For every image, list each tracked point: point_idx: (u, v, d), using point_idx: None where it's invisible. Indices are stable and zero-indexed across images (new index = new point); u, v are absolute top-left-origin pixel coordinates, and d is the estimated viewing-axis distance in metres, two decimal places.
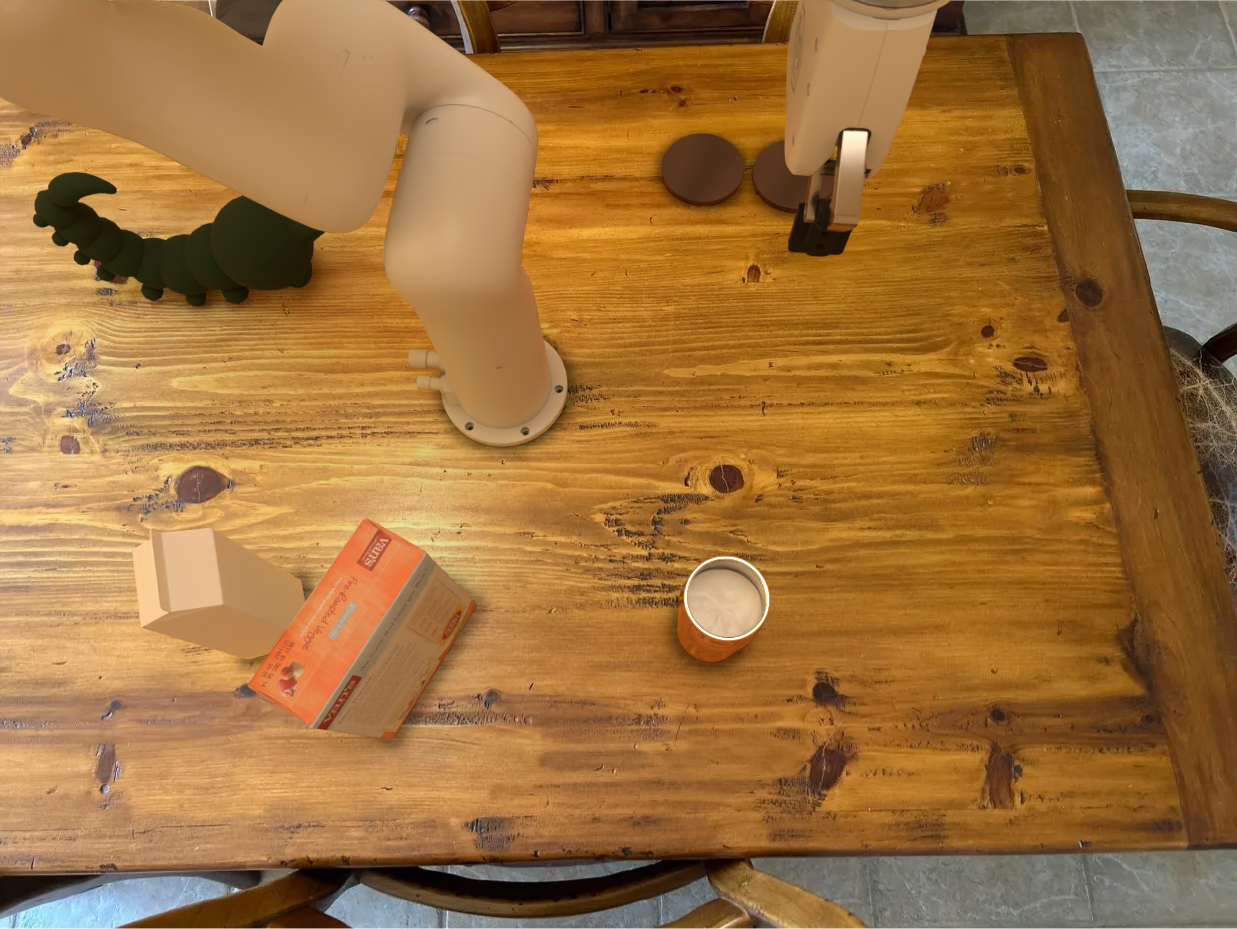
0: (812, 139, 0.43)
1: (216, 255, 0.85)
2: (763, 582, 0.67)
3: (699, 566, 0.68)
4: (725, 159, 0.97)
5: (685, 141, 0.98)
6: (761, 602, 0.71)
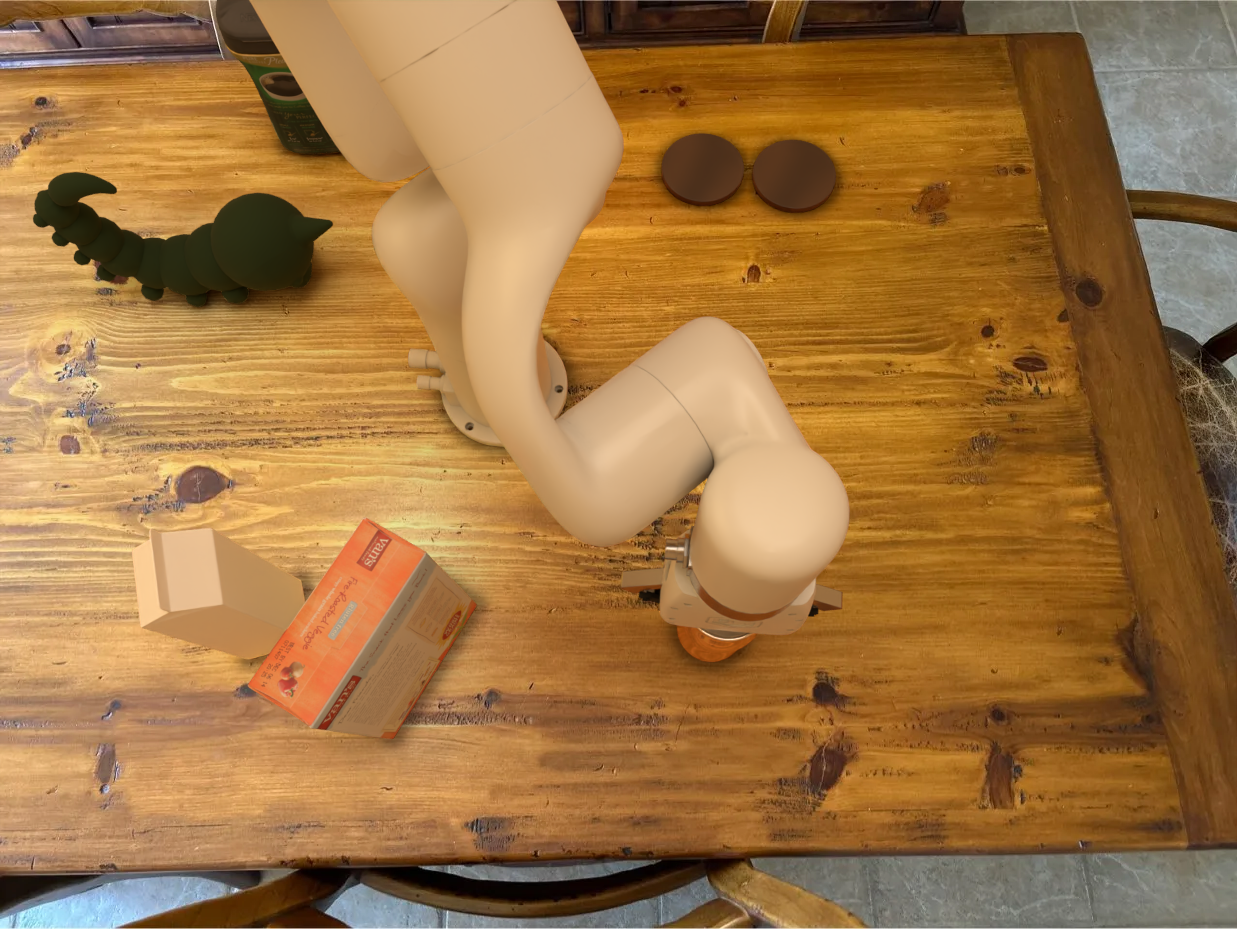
0: None
1: (216, 255, 0.85)
2: None
3: None
4: (725, 159, 0.97)
5: (685, 141, 0.98)
6: None
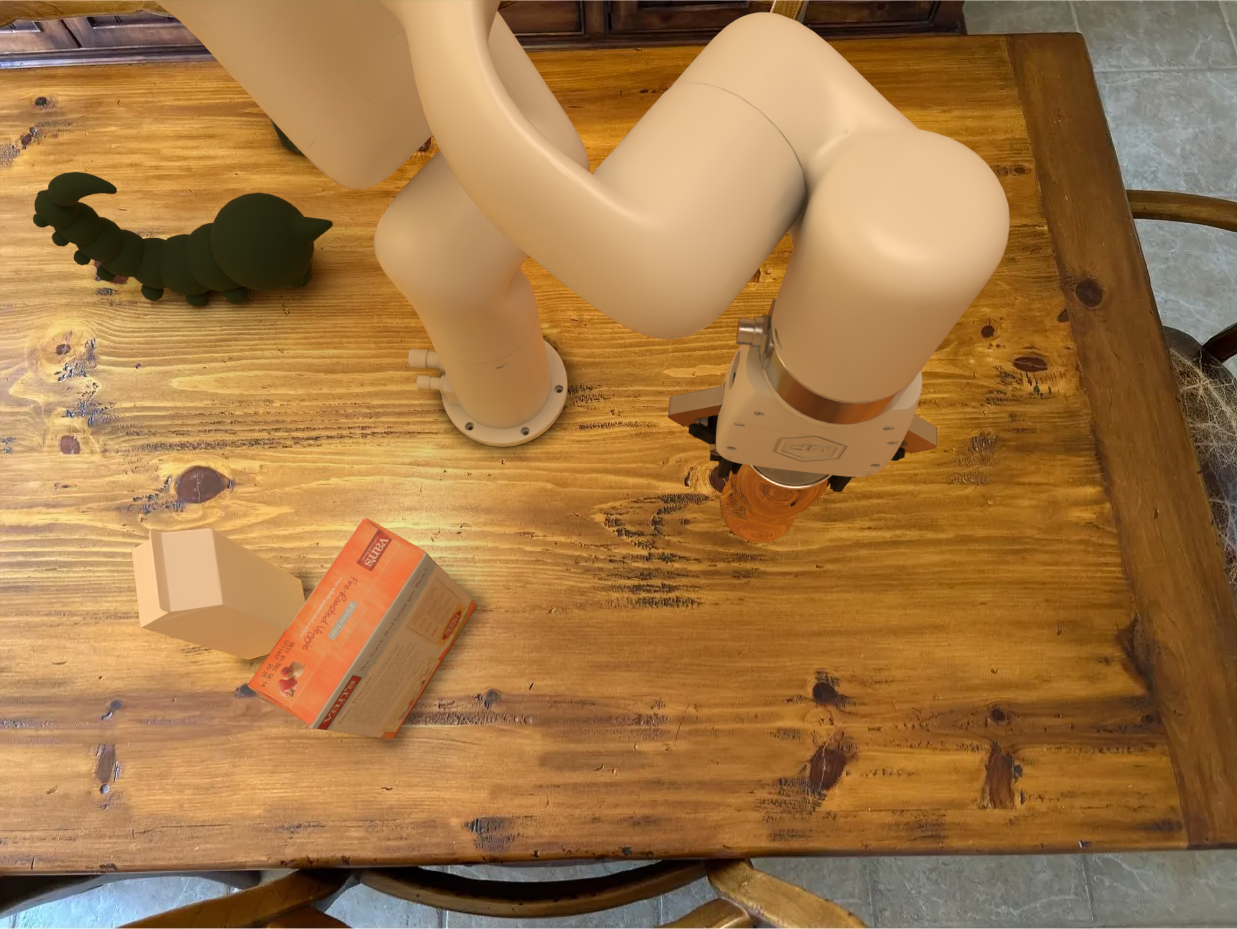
0: None
1: (216, 255, 0.85)
2: None
3: None
4: None
5: None
6: None
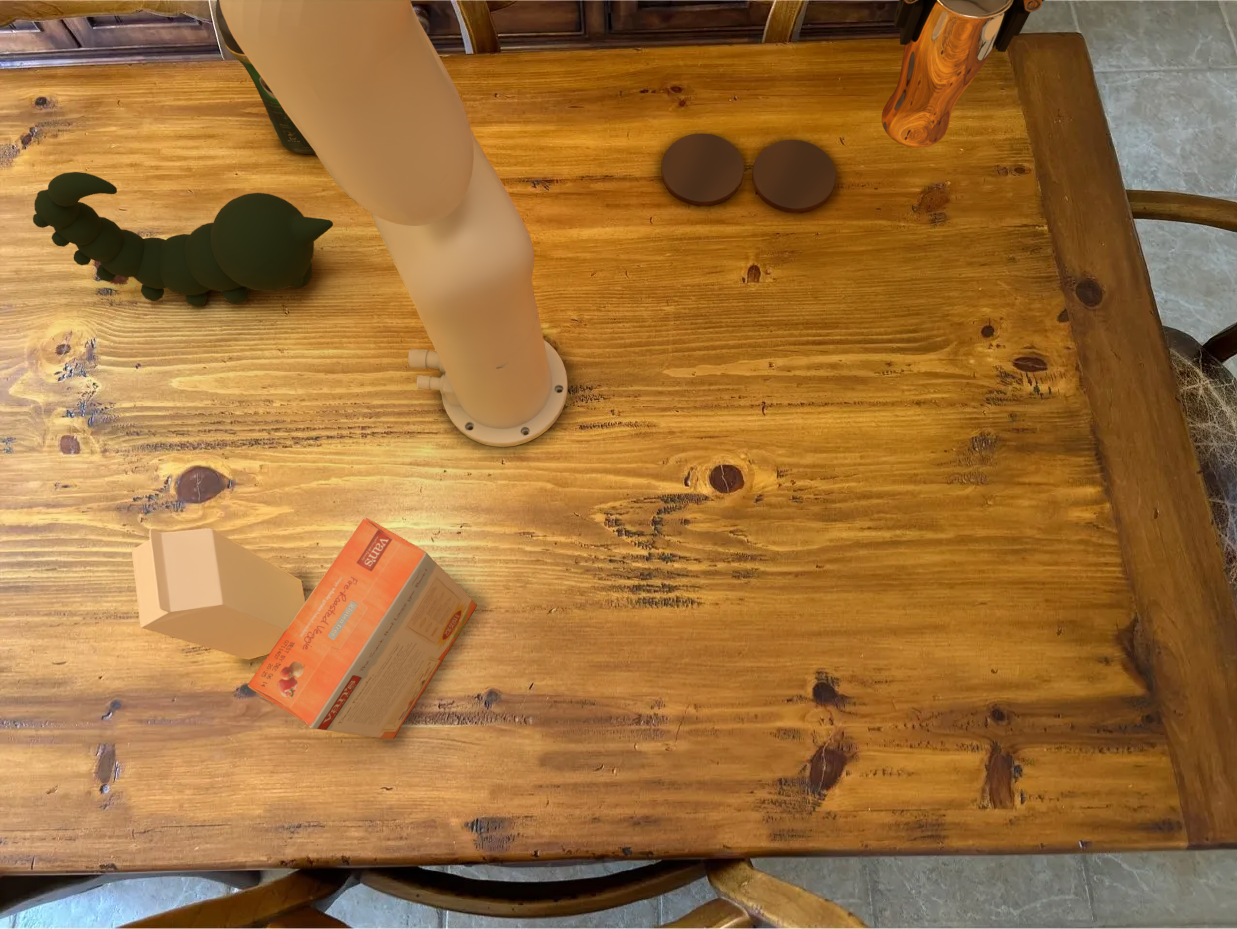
0: None
1: (216, 255, 0.85)
2: None
3: None
4: (725, 159, 0.97)
5: (685, 141, 0.98)
6: None
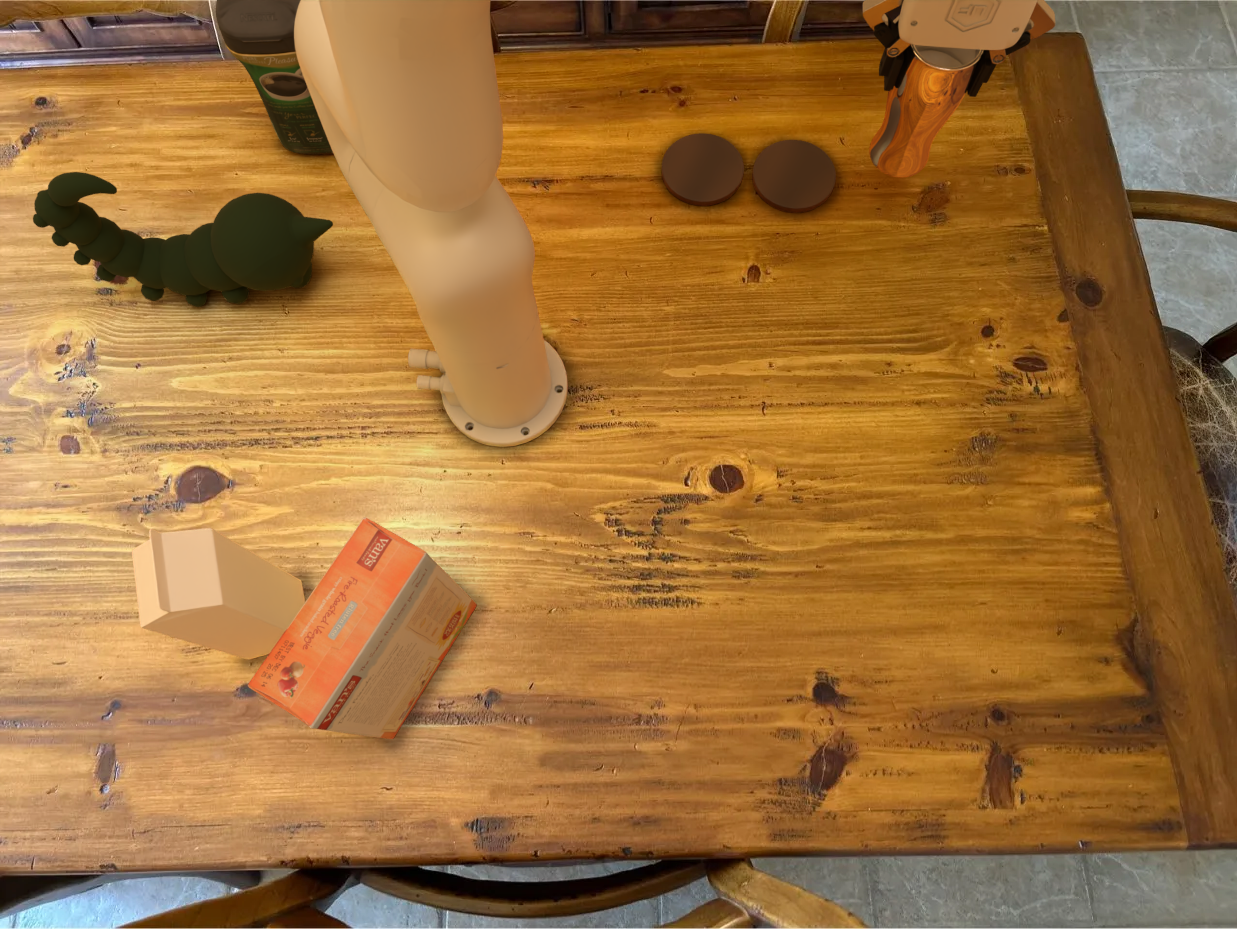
0: None
1: (216, 255, 0.85)
2: None
3: None
4: (725, 159, 0.97)
5: (685, 141, 0.98)
6: None
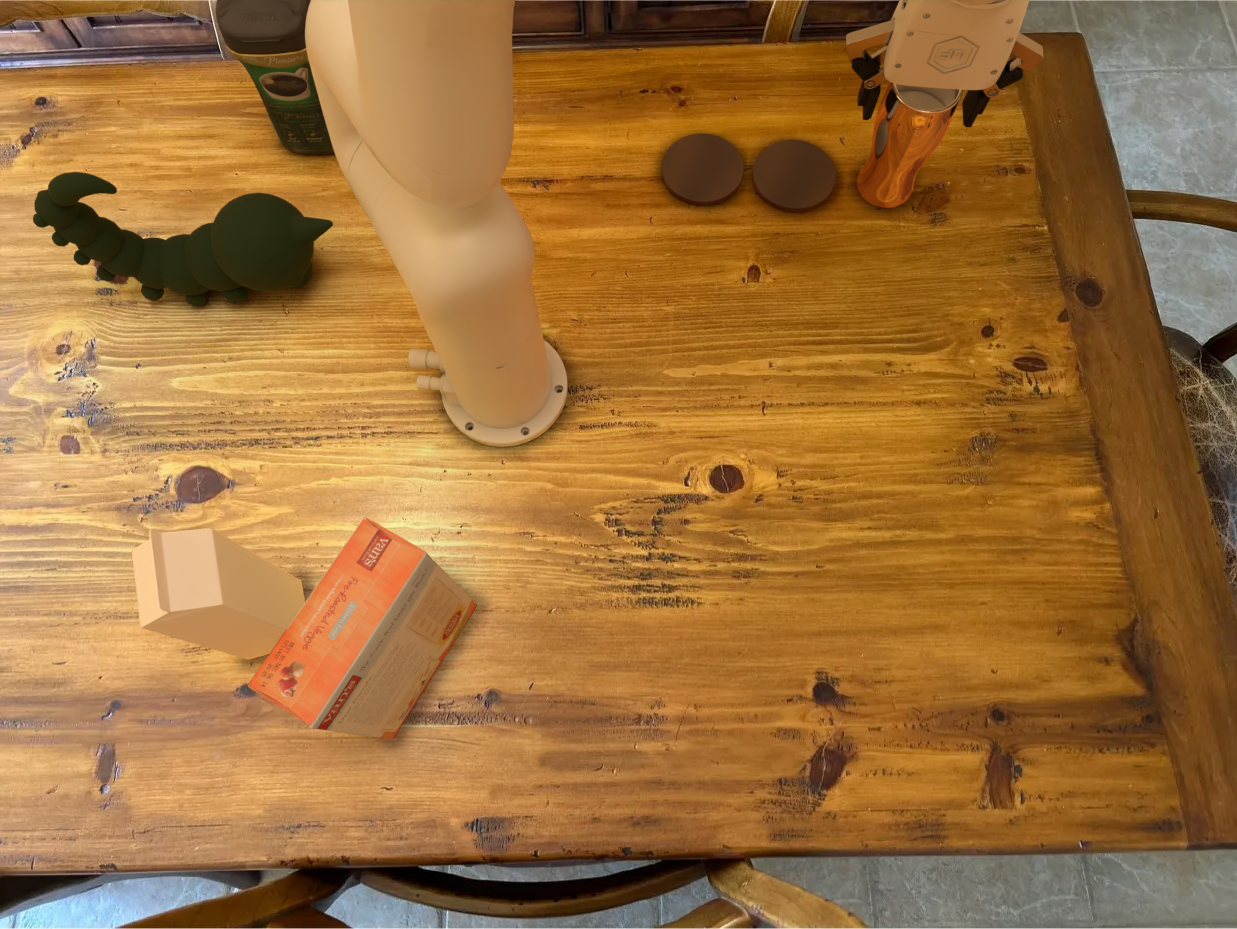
0: (1008, 56, 0.76)
1: (216, 255, 0.85)
2: None
3: None
4: (725, 159, 0.97)
5: (685, 141, 0.98)
6: None
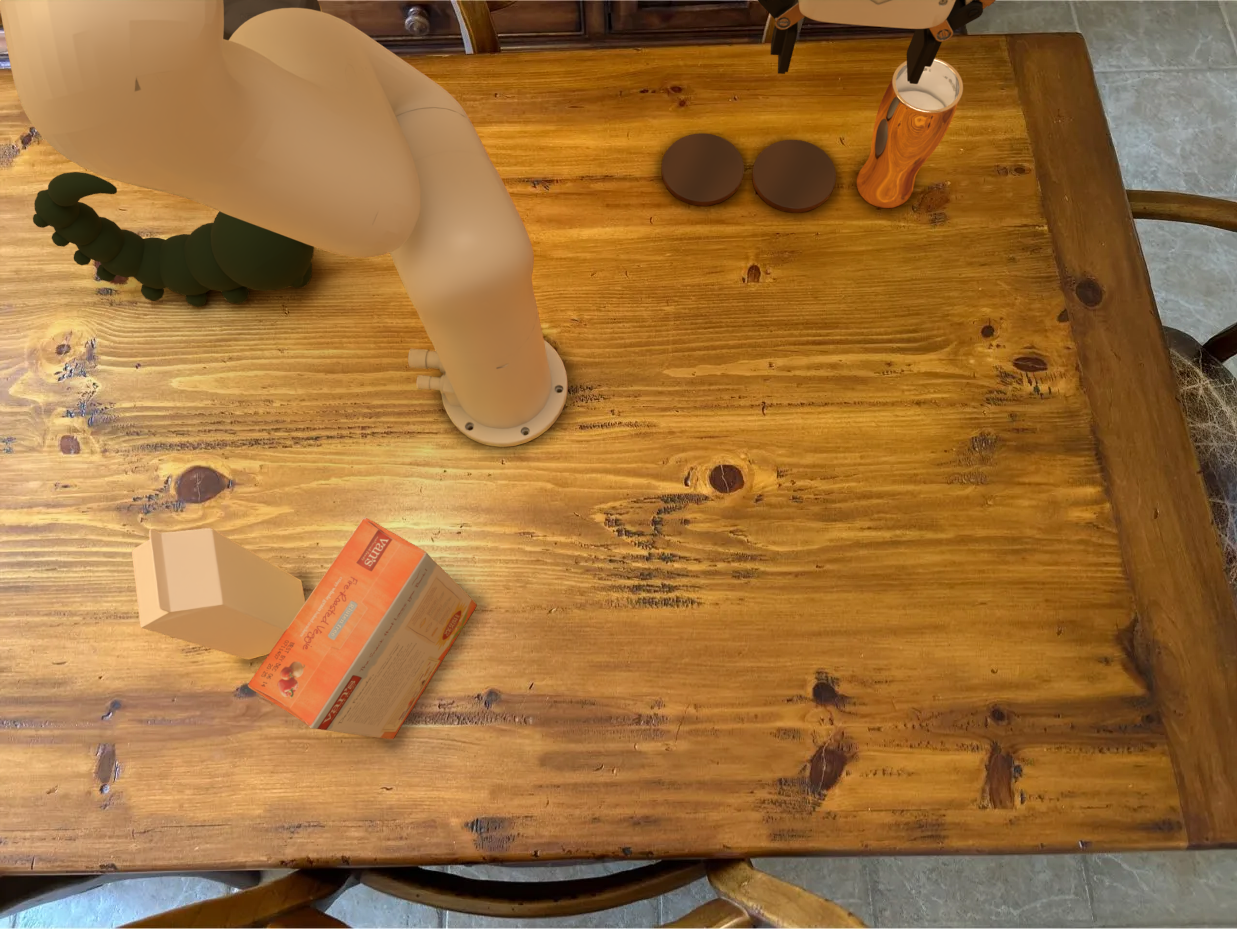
0: None
1: (216, 255, 0.85)
2: (956, 73, 0.83)
3: (903, 63, 0.83)
4: (725, 159, 0.97)
5: (685, 141, 0.98)
6: None
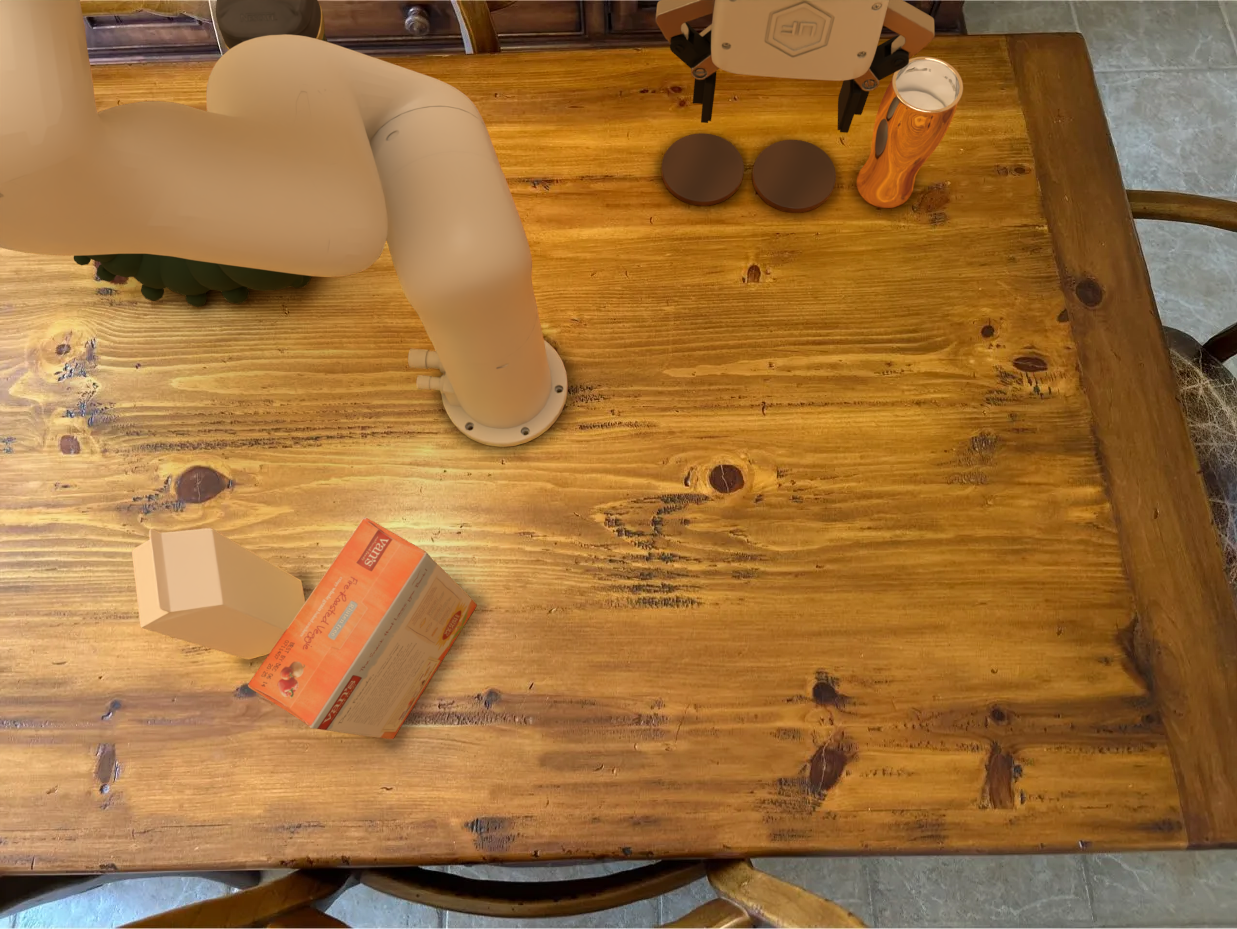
0: None
1: None
2: (956, 73, 0.83)
3: None
4: (725, 159, 0.97)
5: (685, 141, 0.98)
6: None
